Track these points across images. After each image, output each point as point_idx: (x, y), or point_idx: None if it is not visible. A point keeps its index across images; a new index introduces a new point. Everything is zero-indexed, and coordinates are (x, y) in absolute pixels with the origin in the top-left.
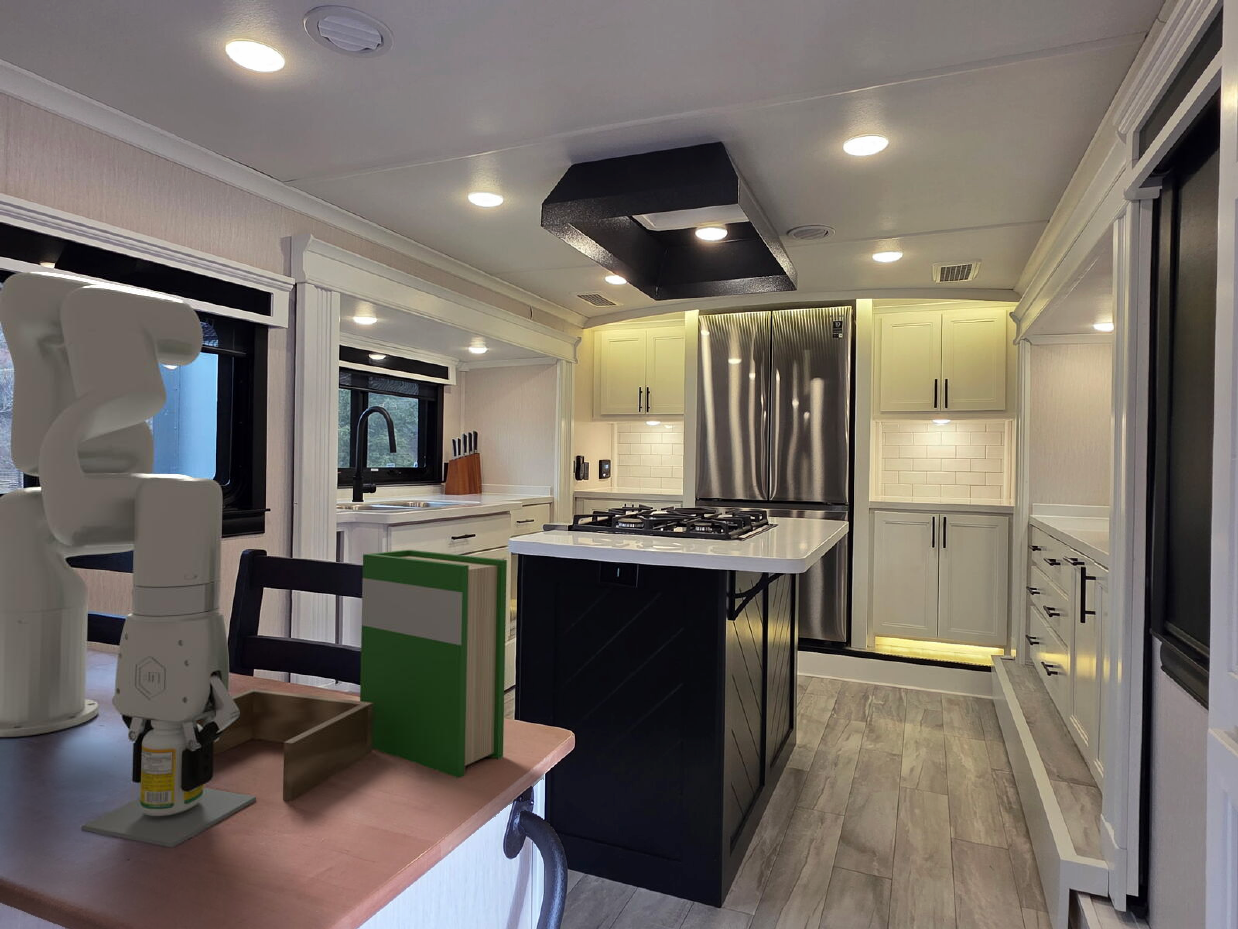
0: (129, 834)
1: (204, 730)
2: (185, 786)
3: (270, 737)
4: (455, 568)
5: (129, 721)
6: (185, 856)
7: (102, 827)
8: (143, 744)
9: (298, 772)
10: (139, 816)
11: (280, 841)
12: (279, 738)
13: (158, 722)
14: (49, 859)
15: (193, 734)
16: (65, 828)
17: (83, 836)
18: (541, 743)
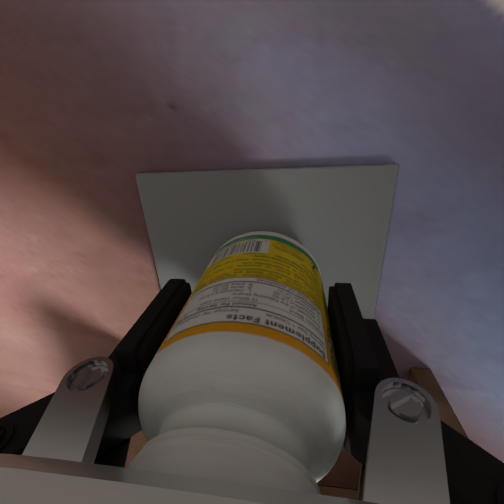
0: (249, 171)
1: (20, 438)
2: (166, 283)
3: (340, 495)
4: None
5: (490, 485)
6: (91, 158)
7: (337, 174)
8: (280, 350)
9: None
10: (303, 237)
11: (18, 250)
12: (322, 493)
13: (193, 466)
14: (342, 23)
15: (52, 413)
16: (443, 155)
17: (362, 143)
18: None
